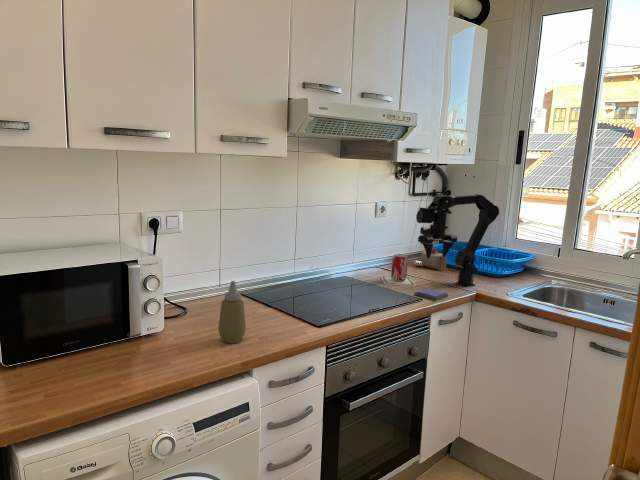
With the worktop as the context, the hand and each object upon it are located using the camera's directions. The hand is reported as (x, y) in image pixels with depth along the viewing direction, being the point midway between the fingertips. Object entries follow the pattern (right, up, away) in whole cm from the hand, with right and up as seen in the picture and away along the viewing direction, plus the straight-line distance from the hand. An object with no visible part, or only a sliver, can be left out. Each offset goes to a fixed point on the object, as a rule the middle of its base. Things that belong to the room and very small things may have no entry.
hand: (436, 257), depth 212 cm
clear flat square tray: (-16, -11, +6) cm, 21 cm away
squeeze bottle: (-79, -22, -73) cm, 110 cm away
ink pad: (-6, -16, -15) cm, 23 cm away
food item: (+8, -7, +39) cm, 40 cm away
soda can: (-16, -11, +6) cm, 20 cm away
